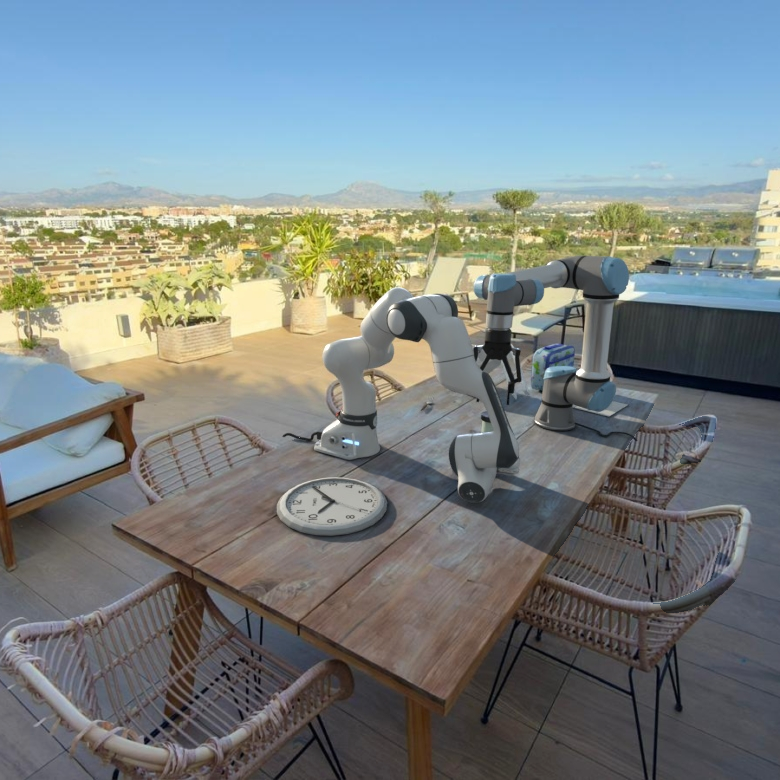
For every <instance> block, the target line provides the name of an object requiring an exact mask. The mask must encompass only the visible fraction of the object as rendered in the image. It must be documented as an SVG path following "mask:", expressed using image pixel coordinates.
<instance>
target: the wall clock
mask: <svg viewBox="0 0 780 780" xmlns="http://www.w3.org/2000/svg"><path fill="white" fill-rule="evenodd" d="M387 509H388V500H387V498H386V496H385V494H384V493H383V492H382V491H381V490H380V489H379V488H377V487H376V486H374V485H372V484H371V483H369V482H365V481H362V480H359V479H355V478H349V477H338V476H337V477H335V476H333V477H332V476H331V477H322V478H317V479H312V480H307V481H305V482H302V483H299V484H297V485H295V486H293V487H292V488H290V489H288V490H287V491H286V492H285V493H284V494H283V495H281V496H280V498H279V499H278V502H277V503H276V515H277V517H278V518H279V520H280V521H281V522H282V523H283V524H285V525H286V526H287V527H288V528H290V529H293V530H295V531H297V532H299V533H303V534H308V535H312V536H327V537H328V536H329V537H331V536H332V537H333V536H342V535H350V534H352V533H356V532H361V531H363V530H366V529H368V528H369V527H372V526H373V525H375V524H376V523H378V522H379V521H380V520H381V519H382V518H383V517H384V516H385V514H386V512H387Z"/></svg>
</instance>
